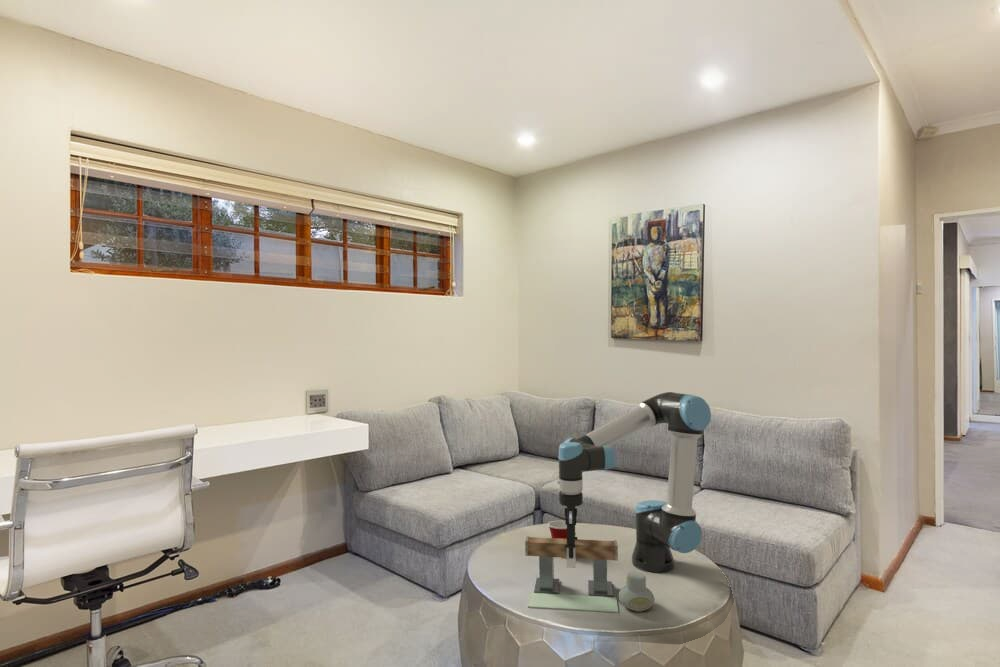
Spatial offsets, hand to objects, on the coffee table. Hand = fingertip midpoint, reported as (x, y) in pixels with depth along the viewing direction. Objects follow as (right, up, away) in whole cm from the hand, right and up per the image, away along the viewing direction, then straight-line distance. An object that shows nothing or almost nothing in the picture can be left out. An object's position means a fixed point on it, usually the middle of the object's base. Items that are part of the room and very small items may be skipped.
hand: (571, 563), depth 176 cm
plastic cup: (+2, -13, +39) cm, 41 cm away
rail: (0, +3, 0) cm, 3 cm away
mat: (+1, -13, 0) cm, 13 cm away
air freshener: (+20, -13, -3) cm, 24 cm away
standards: (+2, -13, +10) cm, 16 cm away
